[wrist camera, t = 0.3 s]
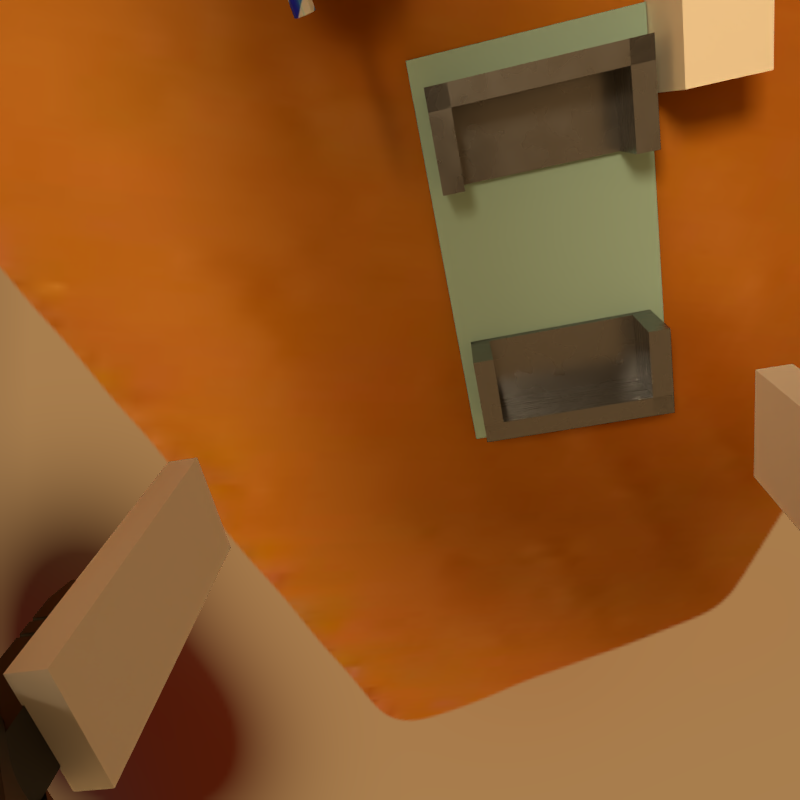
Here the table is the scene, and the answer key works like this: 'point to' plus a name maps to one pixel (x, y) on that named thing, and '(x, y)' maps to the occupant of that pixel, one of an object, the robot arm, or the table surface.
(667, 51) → the slat
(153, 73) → the table surface
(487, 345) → the cap
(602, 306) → the mat
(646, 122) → the grey u-shaped bracket
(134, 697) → the robot arm
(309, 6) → the cup
